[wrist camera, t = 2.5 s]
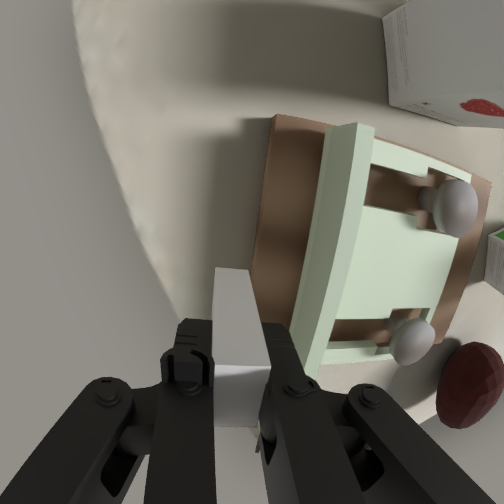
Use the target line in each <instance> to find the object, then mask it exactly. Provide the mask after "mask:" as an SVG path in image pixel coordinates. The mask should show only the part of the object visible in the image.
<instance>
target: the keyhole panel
mask: <svg viewBox="0 0 504 504" xmlns="http://www.w3.org/2000/svg"><path fill="white" fill-rule="evenodd" d="M374 134H375V127H371V126H368V125H365V124H361V123H352V124H346V125H341V126H336V127H331V128H326V131H325V139H324V146H323V154H322V160H321V167H320V174H319V180H318V187H317V193H316V199H315V205H314V211H313V216H312V222H311V228H310V233H309V239H308V244H307V249H306V254H305V259H304V264H303V269H302V274H301V279H300V284H299V289H298V293H297V298H296V303H295V307H294V312H293V316H292V320H291V325H290V329H289V332H290V335H291V337H292V341H293V343H294V345H295V349H296V351H297V353H298V356H299V359H300V361H301V364H302V366H303V369H304V372H305V374H306V375H307V376H310V377H311V378H312V379H314V380H315V378H316V376H317V373H318V370H319V367H320V365H326V364H344V363H357V362H369V361H379V360H388V359H394V358H393V356H392V355H391V354H390V352H389V347H379V348H377V347H378V346H377V345H376V344H375V342H374V341H373V340H363V341H337V342H328V341H329V338H330V335H331V331H332V328H333V325H334V322H335V319H385V318H389V317H390V314H391V312H392V309H395V308H422V310H421V312H420V315H419V317H418V318H423V319H424V320H426V321H427V322H428V323H429V324H430V322H431V319H432V317H433V315H434V312H435V310H436V307H437V304H438V302H439V299H440V297H441V294H442V291H443V288H444V285H445V283H446V280H447V277H448V274H449V270H450V267H451V264H452V261H453V258H454V254H455V251H456V247H457V243H458V240H459V238H455V237H452V236H450V235H448V234H446V233H444V232H440V231H435V230H430V229H425V228H419V227H417V224H418V219H419V217H418V216H415V215H413V214H410V213H405V212H400V211H395V210H390V209H385V208H380V207H375V206H370V205H364V199H365V194H366V188H367V182H368V176H369V170H370V164H373V165H377V166H381V167H385V168H389V169H392V170H396V171H399V172H403V173H406V174H410V175H413V176H416V177H420V178H425V179H426V178H427V171H428V168H429V169H432V170H435V171H438V172H440V173H443V174H446V175H448V176H451V177H453V178H456V179H457V180H460V181H465V182H468V183H469V184H470V182H471V176H472V175H471V174H469V173H467V172H465V171H462V170H460V169H458V168H455V167H453V166H451V165H448V164H446V163H443V162H441V161H438V160H436V159H433V158H431V157H428V156H425V155H423V154H420V153H417V152H414V151H411V150H409V149H406V148H403V147H400V146H397V145H394V144H390V143H387V142H384V141H381V140H377V139H374Z"/></svg>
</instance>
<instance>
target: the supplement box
mask: <svg viewBox="0 0 504 504" xmlns="http://www.w3.org/2000/svg"><path fill="white" fill-rule="evenodd" d="M382 22H383V29H384V37H385V47H386V57H387V72H388V91H389V105H391V106H394V107H398V108H401V109H405V110H408V111H412V112H415V113H419V114H422V115H425V116H428V117H432V118H435V119H438V120H441V121H444V122H446V123H449V124H452V125H455V126H463V127H488V128H503V129H504V0H410V1H408V2H406V3H405V4H403V5H401V6H400V7H398V8H397V9H395V10H393V11H392V12H390V13H389V14H387V15H386V16H384V17H383V18H382Z"/></svg>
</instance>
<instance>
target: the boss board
mask: <svg viewBox="0 0 504 504" xmlns="http://www.w3.org/2000/svg"><path fill="white" fill-rule="evenodd" d="M331 127H336V126H335V125H330V124H326V123H322V122H317V121H312V120H308V119H303V118H297V117H292V116H287V115H281V114H276V115H275V116H273V117H272V119H271V126H270V134H269V141H268V149H267V156H266V164H265V171H264V179H263V186H262V194H261V201H260V209H259V216H258V223H257V231H256V238H255V246H254V253H253V260H252V268H251V275H250V280H251V284H252V288H253V292H254V297H255V301H256V305H257V309H258V313H259V318H260V322H264V323H281V324H282V325H283V326H284V327H285V328H286V329H288V330H289V329H290V325H291V320H292V316H293V312H294V307H295V303H296V298H297V293H298V289H299V284H300V279H301V274H302V269H303V264H304V259H305V254H306V249H307V244H308V239H309V233H310V228H311V222H312V216H313V211H314V205H315V199H316V193H317V187H318V180H319V174H320V167H321V160H322V154H323V146H324V139H325V131H326V128H331ZM374 139H377V140H381V141H384V142H387V143H390V144H394V145H397V146H400V147H403V148H406V149H409V150H411V151H414V152H417V153H420V154H423V155H425V156H428V157H431V158H433V159H436V160H438V161H441V162H443V163H446V164H448V165H451V166H453V167H455V168H458V169H460V170H462V171H465V172H467V173H469V174H471V175H472V176H471V182H470V184H469V183H468V182H465V181H460V180H457V179H456V178H453V177H451V176H448V175H446V174H443V173H440V172H438V171H435V170H432V169H429V168H428V171H427V178H426V179H425V178H420V177H416V176H413V175H410V174H406V173H403V172H399V171H396V170H392V169H389V168H385V167H381V166H377V165H373V164H370V170H369V176H368V182H367V188H366V194H365V199H364V205H370V206H375V207H380V208H385V209H390V210H395V211H400V212H405V213H410V214H413V215H415V216H418V217H419V219H418V224H417V227H419V228H425V229H430V230H435V231H440V232H444V233H446V234H448V235H450V236H452V237H455V238H459V240H458V243H457V247H456V251H455V254H454V258H453V261H452V264H451V267H450V270H449V274H448V277H447V280H446V283H445V285H444V288H443V291H442V294H441V297H440V299H439V302H438V304H437V307H436V310H435V312H434V315H433V317H432V319H431V322H430V324H429V323H428V322H427V321H426V320H424V319H423V318H418V317H419V315H420V312H421V310H422V308H395V309H392V312H391V314H390V317H389V318H385V319H335V322H334V325H333V328H332V331H331V335H330V338H329V341H328V342H337V341H363V340H373V341H374V342H375V344H376V345H377V346H378V347H377V348H379V347H389V352H390V354H391V355H392V356H393V358H394V359H395V360H396V362H397V363H398V364H399V365H402V366H407V365H411V364H413V363H415V362H417V361H418V360H420V359H421V358H422V357H423V356H424V355H425V354H426V353H427V352H428V351H429V349H430V348H431V346H432V344H439V343H442V341H443V339H444V337H445V334H446V332H447V330H448V328H449V326H450V323H451V321H452V319H453V316H454V314H455V312H456V309H457V307H458V304H459V302H460V299H461V297H462V294H463V291H464V288H465V286H466V283H467V280H468V277H469V274H470V271H471V268H472V265H473V262H474V258H475V255H476V251H477V248H478V244H479V240H480V237H481V233H482V229H483V224H484V220H485V215H486V210H487V205H488V200H489V194H490V188H491V182H490V181H488V180H486V179H484V178H482V177H480V176H478V175H475V174H473V173H471V172H469V171H467V170H465V169H462V168H460V167H458V166H456V165H453V164H451V163H449V162H446V161H444V160H441V159H439V158H436V157H434V156H431V155H429V154H426V153H423V152H421V151H418V150H415V149H412V148H409V147H407V146H404V145H401V144H398V143H395V142H392V141H389V140H385V139H382V138H379V137H376V136H374Z"/></svg>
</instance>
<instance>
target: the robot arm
mask: <svg viewBox="0 0 504 504" xmlns="http://www.w3.org/2000/svg"><path fill="white" fill-rule="evenodd" d="M160 362H161V375H162V381H161V382H160V383H159V384H157V385H154V386H152V387H147V388H138V389H131V388H130V387H129V385H128V384H127V383H126V382H124V381H122V380H120V379H117V378H113V377H102V378H99V379H96V380H93V381H92V382H90V383H89V384H88V385H87V386H86V387H85V388H84V390H83V391H82V392H81V393H80V394H79V395H78V397H77V398H76V399H75V400H74V401H73V403H72V404H71V405H70V406H69V407H68V409H67V410H66V411H65V412H64V414H63V415H62V416H61V417H60V418H59V420H58V421H57V422H56V423H55V425H54V426H53V427H52V428H51V430H50V431H49V432H48V433H47V435H46V436H45V437H44V438H43V440H42V441H41V442H40V443H39V445H38V446H37V447H36V449H35V450H34V451H33V452H32V454H31V455H30V456H29V458H28V459H27V460H26V462H25V463H24V464H23V466H22V467H21V468H20V470H19V471H18V472H17V474H16V475H15V476H14V478H13V479H12V480H11V482H10V483H9V485H8V486H7V487H6V489H5V490H4V491H3V493H2V494H1V496H0V504H121V503H122V501H123V499H124V497H125V495H126V493H127V491H128V489H129V487H130V485H131V483H132V481H133V479H134V477H135V475H136V473H137V471H138V469H139V467H140V465H141V463H142V461H143V459H144V457H145V455H147V454H150V456H149V464H148V470H147V478H146V486H145V495H144V504H217V499H216V478H215V453H214V452H215V449H214V426H219V427H220V426H221V427H257V425H258V421H260V427H261V431H260V435H259V438H258V442H257V446H256V453H258V452H259V450H260V452H261V459H262V465H263V471H264V477H265V483H266V490H267V496H268V502H269V504H496V503H495V502H494V501H493V500H492V499H491V498H490V497H489V496H488V495H487V494H486V493H485V492H484V491H483V490H482V489H481V488H480V487H479V486H478V485H477V484H476V483H475V482H474V481H473V480H472V479H471V478H470V477H469V476H468V475H467V474H466V473H465V472H464V471H463V470H462V469H461V468H460V467H459V466H458V465H457V464H456V463H455V462H454V461H453V460H452V459H451V458H450V456H448V455H447V453H446V452H445V451H443V449H442V448H441V447H440V446H439V445H438V444H437V443H436V442H435V441H434V440H433V439H432V438H431V437H430V436H429V435H428V434H427V433H426V432H425V431H424V430H423V429H422V428H421V427H420V426H419V425H418V424H417V423H416V422H415V421H414V420H413V419H412V418H411V417H410V416H409V415H408V414H407V413H406V412H405V411H404V410H403V409H402V408H401V407H400V406H399V405H398V404H397V403H396V402H395V401H394V400H393V399H392V398H391V396H390V395H389V394H388V393H387V392H385V391H384V390H383V389H381V388H380V387H378V386H375V385H373V384H365V383H364V384H358V385H356V386H354V387H352V388H351V390H350V391H349V393H348V394H341V393H334V392H329V391H325V390H322V389H321V388H320V386H319V385H318V383H317V382H316V381H315V380H314V379H312V378H311V377H310V376H307V375H306V374H305V372H304V369H303V366H302V364H301V361H300V359H299V356H298V353H297V351H296V349H295V345H294V343H293V341H292V337H291V335H290V332H289V330H288V329H286V328H285V327H284V326H283V325H282V324H281V323H264V322H260V318H259V313H258V309H257V305H256V301H255V297H254V292H253V288H252V284H251V280H250V275H249V271H248V270H244V269H231V268H219V267H215V277H214V290H213V303H212V317H211V320H201V319H189V318H185V319H184V320H183V321H182V322H181V323H180V324H179V325H178V328H177V333H176V338H175V343H174V347H173V348H171V349H169V350H168V351H166V352H165V353H164V354H163V355H162V357H161V359H160Z"/></svg>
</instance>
